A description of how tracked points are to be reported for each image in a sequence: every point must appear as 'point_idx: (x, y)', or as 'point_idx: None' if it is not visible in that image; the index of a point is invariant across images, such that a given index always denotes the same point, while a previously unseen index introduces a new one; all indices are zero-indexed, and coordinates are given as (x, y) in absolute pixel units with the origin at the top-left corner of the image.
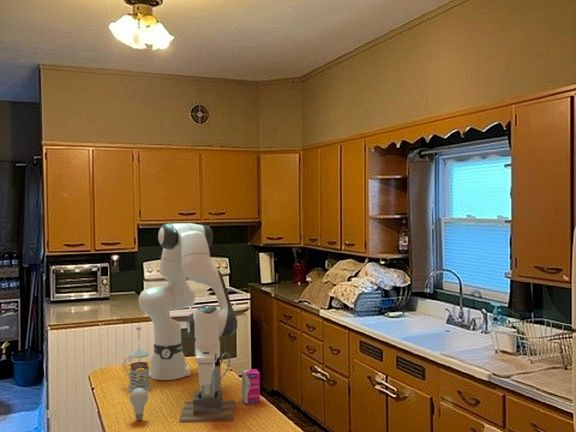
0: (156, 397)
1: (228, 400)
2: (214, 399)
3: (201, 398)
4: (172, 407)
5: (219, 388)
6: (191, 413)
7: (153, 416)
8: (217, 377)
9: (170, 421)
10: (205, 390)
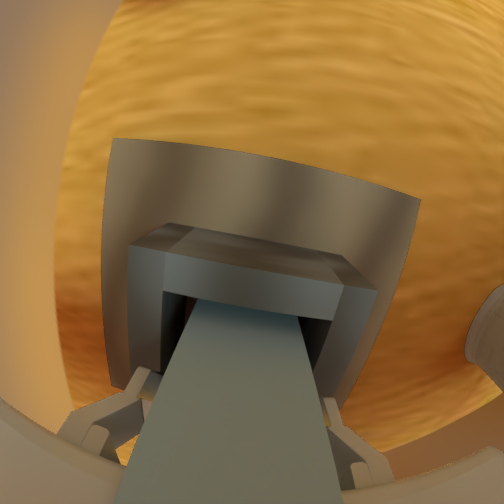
0: (499, 92)
1: (340, 405)
2: None
3: (190, 318)
4: (383, 114)
5: (477, 363)
6: (188, 212)
7: (256, 11)
8: (502, 386)
9: (147, 92)
10: (129, 390)
